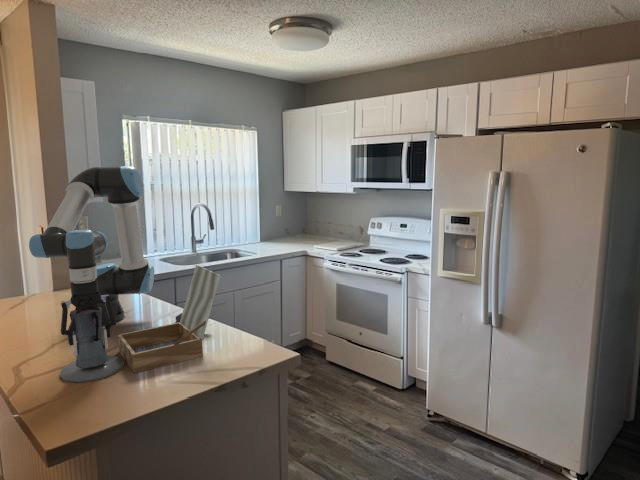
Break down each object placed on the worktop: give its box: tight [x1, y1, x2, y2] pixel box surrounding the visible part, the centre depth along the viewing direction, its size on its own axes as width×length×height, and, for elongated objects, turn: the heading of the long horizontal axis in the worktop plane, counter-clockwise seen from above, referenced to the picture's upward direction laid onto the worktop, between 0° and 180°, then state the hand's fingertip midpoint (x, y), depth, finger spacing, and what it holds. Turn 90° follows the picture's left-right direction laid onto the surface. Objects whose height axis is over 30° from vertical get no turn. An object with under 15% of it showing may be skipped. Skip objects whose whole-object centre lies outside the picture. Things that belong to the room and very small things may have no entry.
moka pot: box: [69, 307, 108, 368], centre depth 145 cm, size 10×15×20 cm, turn 51°
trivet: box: [59, 354, 125, 383], centre depth 146 cm, size 18×18×1 cm
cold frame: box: [117, 264, 222, 374], centre depth 158 cm, size 22×30×27 cm
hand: (91, 350), depth 146 cm, fingers closed on moka pot, 8 cm apart
